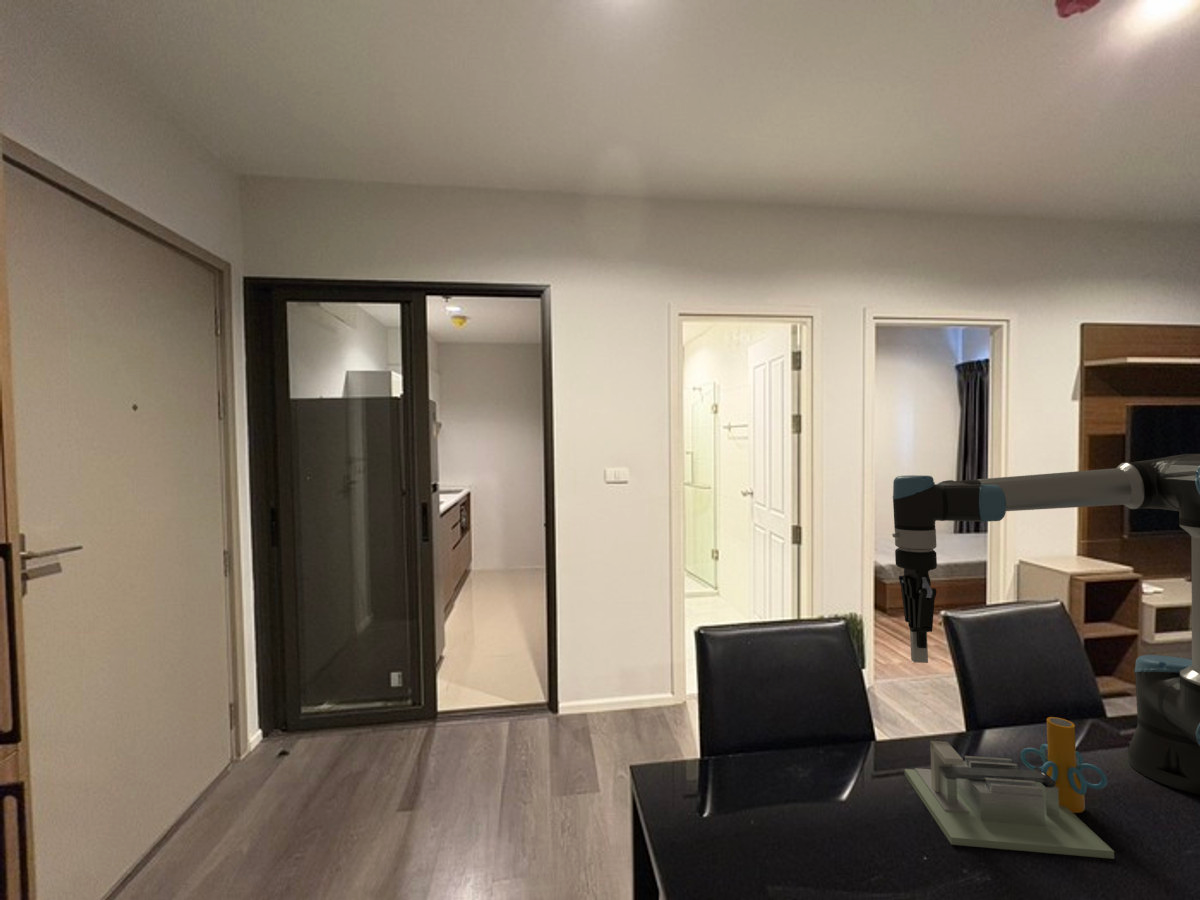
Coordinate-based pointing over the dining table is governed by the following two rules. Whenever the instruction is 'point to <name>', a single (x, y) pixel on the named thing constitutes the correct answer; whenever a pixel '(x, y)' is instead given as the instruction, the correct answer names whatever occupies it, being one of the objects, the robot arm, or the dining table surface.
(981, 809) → the heatsink
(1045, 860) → the dining table surface
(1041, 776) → the strap
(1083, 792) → the orange tube with rings
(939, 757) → the latch
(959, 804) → the board
